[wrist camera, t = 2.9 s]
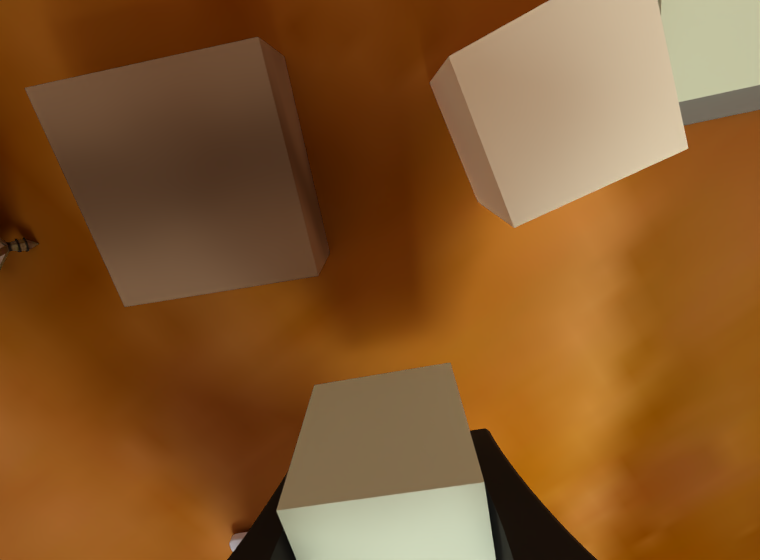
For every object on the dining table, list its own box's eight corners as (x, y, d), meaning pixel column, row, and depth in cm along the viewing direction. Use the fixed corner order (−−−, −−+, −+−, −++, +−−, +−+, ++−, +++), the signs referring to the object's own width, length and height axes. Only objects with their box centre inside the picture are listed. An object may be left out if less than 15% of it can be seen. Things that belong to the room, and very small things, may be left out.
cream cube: (594, 145, 14) (688, 148, 9) (477, 201, 14) (514, 227, 10) (557, 12, 12) (646, -54, 8) (429, 83, 13) (448, 56, 9)
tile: (802, 99, 13) (825, 97, 12) (618, 137, 13) (630, 137, 13) (840, -130, 11) (870, -147, 10) (621, -73, 11) (635, -86, 11)
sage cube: (468, 468, 14) (504, 617, 9) (346, 485, 14) (327, 636, 10) (450, 362, 12) (484, 482, 8) (314, 385, 12) (276, 510, 8)
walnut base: (331, 250, 15) (318, 275, 13) (170, 277, 16) (124, 307, 13) (286, 58, 13) (258, 36, 10) (99, 97, 14) (24, 87, 11)
